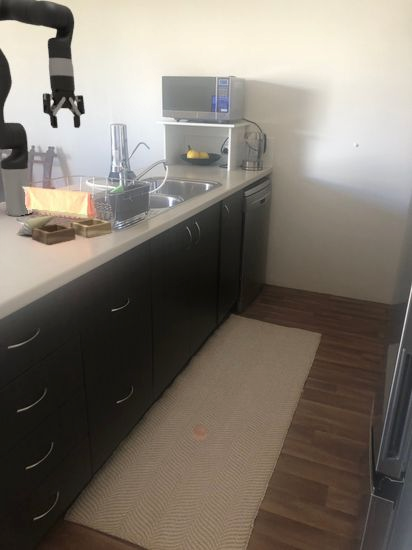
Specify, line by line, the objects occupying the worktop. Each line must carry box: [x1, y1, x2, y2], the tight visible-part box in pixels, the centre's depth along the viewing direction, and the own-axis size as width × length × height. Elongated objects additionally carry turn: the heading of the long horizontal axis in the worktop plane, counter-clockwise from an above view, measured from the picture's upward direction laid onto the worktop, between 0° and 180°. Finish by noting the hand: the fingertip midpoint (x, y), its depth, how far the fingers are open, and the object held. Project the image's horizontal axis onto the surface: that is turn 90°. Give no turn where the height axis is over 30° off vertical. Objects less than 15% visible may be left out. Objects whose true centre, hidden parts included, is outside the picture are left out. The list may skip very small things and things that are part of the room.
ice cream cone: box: [16, 215, 55, 236], centre depth 139 cm, size 5×5×15 cm
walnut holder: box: [31, 223, 76, 246], centre depth 137 cm, size 9×9×4 cm
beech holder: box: [70, 217, 112, 239], centre depth 145 cm, size 9×9×4 cm
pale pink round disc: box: [192, 424, 209, 442], centre depth 177 cm, size 6×6×3 cm
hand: (66, 127), depth 144 cm, fingers open, 8 cm apart
